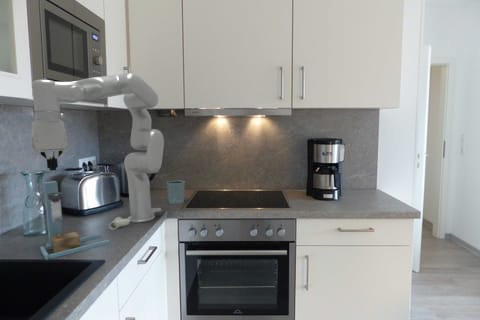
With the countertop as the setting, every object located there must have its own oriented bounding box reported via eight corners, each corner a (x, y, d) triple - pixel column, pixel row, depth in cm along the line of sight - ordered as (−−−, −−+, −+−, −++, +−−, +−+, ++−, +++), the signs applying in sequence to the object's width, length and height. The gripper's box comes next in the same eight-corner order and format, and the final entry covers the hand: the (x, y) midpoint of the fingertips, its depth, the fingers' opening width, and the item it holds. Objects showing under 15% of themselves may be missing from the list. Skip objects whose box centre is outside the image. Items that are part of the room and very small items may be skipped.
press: (97, 233, 131) (92, 176, 128) (109, 243, 119) (104, 180, 116) (38, 247, 118) (31, 183, 115) (45, 259, 106) (37, 189, 103)
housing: (76, 244, 120) (75, 228, 119) (80, 248, 115) (79, 232, 115) (52, 250, 115) (50, 233, 114) (55, 255, 110) (54, 237, 110)
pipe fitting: (130, 225, 143) (115, 224, 143) (130, 216, 143) (115, 216, 142) (125, 230, 135) (109, 230, 135) (125, 222, 135) (108, 221, 134)
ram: (63, 217, 116) (60, 191, 115) (66, 220, 112) (63, 193, 111) (49, 220, 113) (46, 194, 112) (51, 223, 109) (48, 195, 108)
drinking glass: (167, 201, 184) (165, 181, 183) (184, 199, 187) (183, 179, 186) (168, 205, 174) (167, 184, 173) (187, 203, 177) (186, 182, 176)
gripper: (69, 117, 116) (73, 167, 118) (20, 117, 107) (25, 171, 109) (74, 116, 110) (78, 168, 112) (23, 116, 101) (28, 173, 103)
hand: (52, 170), depth 110 cm, fingers closed
